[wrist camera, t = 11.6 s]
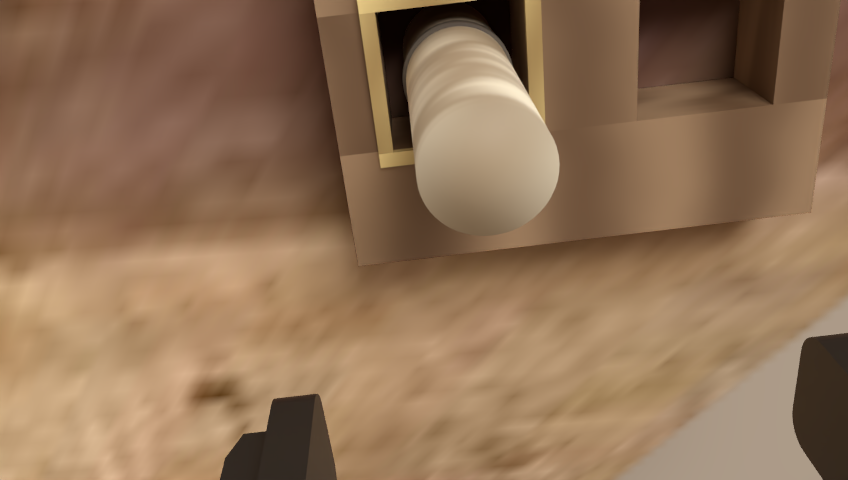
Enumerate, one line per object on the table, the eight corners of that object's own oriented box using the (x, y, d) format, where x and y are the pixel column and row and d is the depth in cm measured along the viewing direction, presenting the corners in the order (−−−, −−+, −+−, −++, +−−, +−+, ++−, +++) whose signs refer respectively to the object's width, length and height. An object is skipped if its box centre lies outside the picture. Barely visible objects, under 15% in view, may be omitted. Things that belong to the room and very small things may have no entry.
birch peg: (493, -8, 33) (562, 89, 21) (499, 89, 35) (565, 230, 23) (394, 4, 33) (403, 108, 21) (405, 100, 35) (420, 247, 23)
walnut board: (812, -201, 30) (874, -205, 27) (770, 176, 38) (814, 215, 34) (301, -140, 30) (290, -135, 27) (360, 225, 38) (358, 269, 34)
